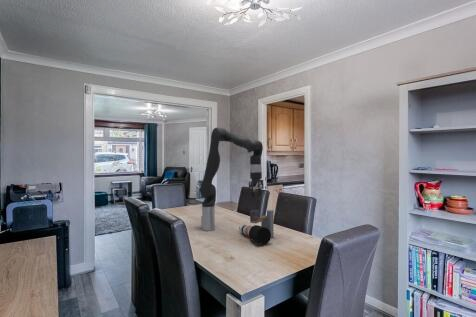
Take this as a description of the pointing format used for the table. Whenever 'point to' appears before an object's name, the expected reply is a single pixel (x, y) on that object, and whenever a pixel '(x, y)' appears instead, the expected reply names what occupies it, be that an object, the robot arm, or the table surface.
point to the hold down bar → (256, 217)
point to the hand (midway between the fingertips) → (256, 196)
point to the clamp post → (269, 222)
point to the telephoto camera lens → (256, 233)
